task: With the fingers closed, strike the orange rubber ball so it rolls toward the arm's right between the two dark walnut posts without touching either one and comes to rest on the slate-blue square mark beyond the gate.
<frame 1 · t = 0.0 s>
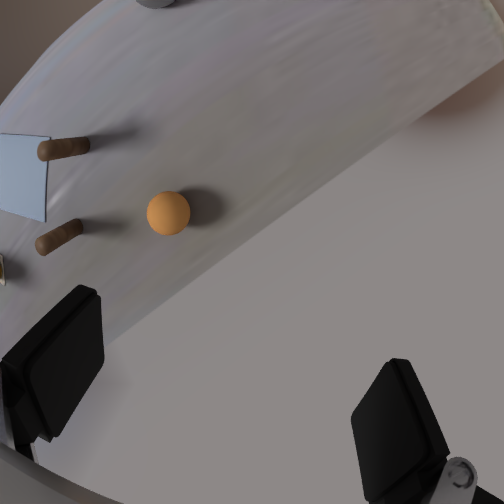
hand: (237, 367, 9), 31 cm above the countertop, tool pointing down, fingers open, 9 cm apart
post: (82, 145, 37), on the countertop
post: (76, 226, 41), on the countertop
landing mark: (19, 175, 39), on the countertop
ball: (168, 213, 37), on the countertop
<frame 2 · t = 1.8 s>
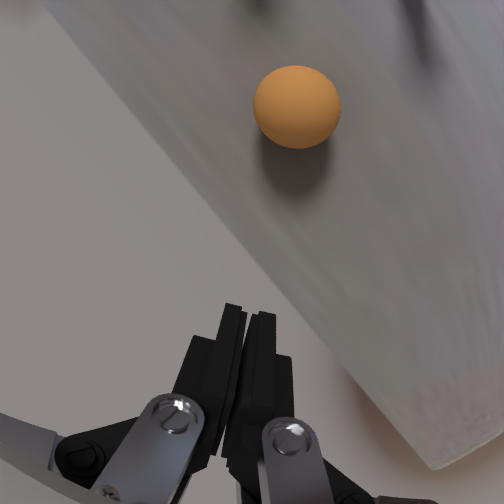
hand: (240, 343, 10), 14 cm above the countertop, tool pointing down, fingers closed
ball: (297, 106, 17), on the countertop
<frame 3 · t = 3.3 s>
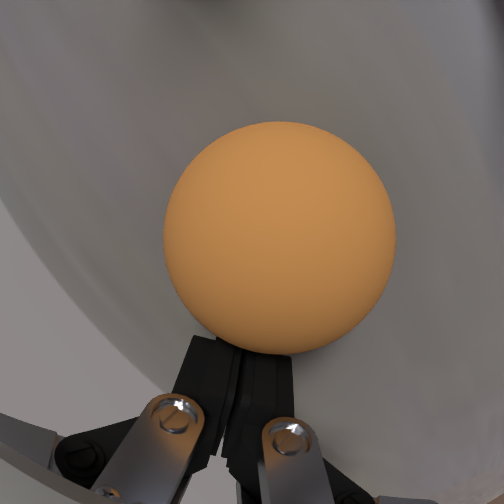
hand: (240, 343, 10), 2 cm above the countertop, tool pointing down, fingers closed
ball: (280, 237, 7), on the countertop, touching gripper
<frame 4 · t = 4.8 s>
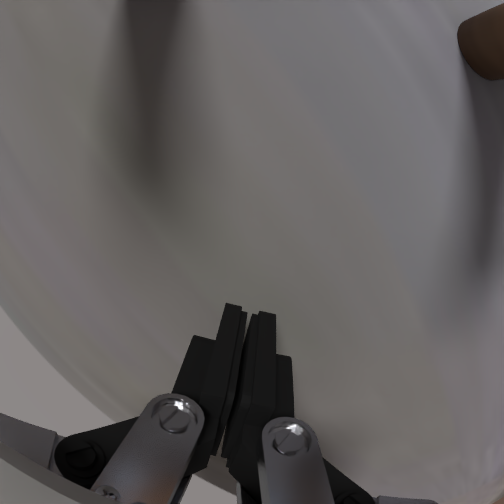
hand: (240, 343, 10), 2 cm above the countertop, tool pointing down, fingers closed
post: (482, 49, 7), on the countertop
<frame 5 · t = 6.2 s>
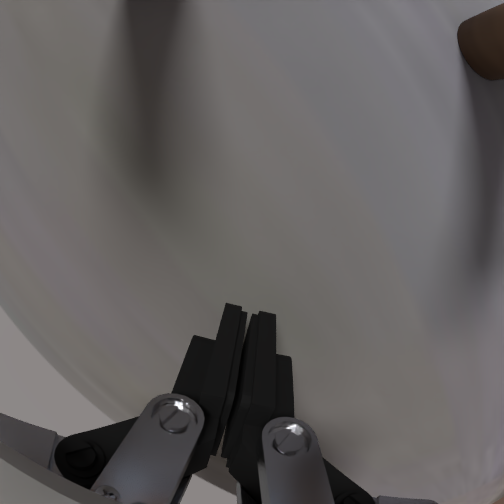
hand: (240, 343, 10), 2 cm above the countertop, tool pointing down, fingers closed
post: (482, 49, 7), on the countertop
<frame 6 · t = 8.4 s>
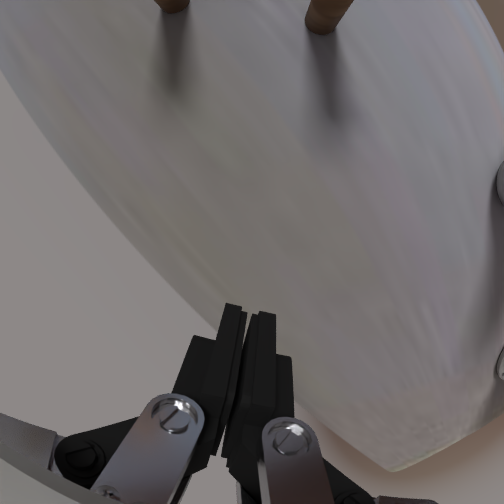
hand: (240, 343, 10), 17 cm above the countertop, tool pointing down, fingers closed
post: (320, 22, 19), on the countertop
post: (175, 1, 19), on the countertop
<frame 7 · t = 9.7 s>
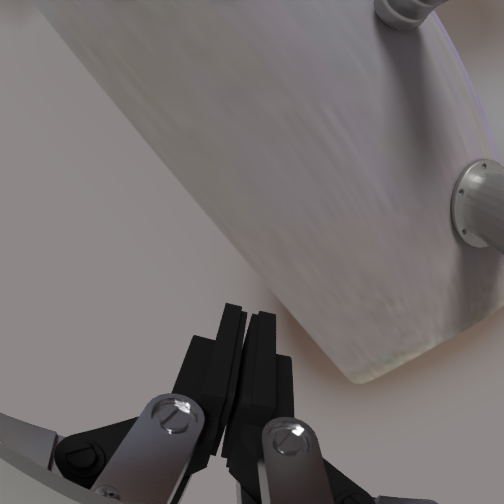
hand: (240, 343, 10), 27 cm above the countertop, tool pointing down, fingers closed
plastic bottle: (392, 13, 25), on the countertop
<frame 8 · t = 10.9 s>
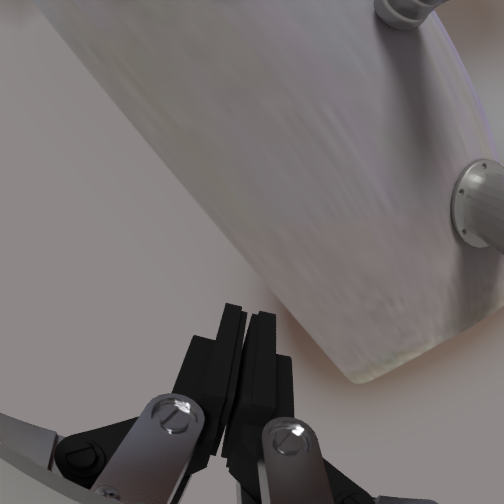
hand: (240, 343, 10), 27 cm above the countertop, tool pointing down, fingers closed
plastic bottle: (393, 13, 25), on the countertop
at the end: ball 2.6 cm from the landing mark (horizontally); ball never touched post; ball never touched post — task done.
